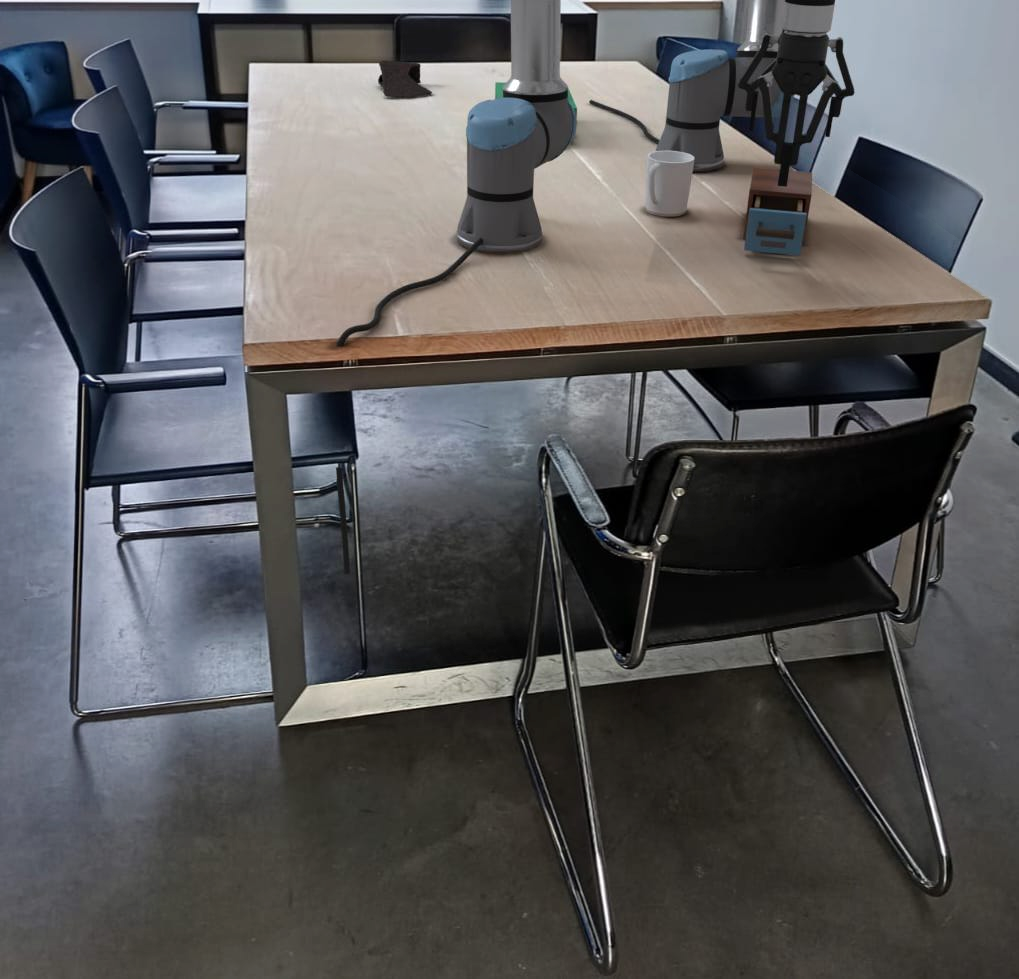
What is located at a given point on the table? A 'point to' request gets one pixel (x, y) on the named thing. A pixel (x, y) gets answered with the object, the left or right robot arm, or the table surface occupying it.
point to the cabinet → (780, 189)
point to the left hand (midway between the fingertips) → (782, 183)
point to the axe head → (401, 79)
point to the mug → (668, 182)
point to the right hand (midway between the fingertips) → (789, 132)
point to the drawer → (776, 225)
